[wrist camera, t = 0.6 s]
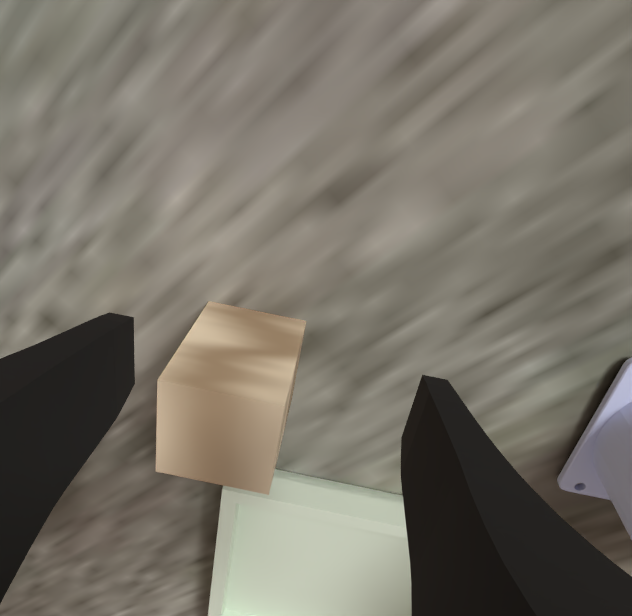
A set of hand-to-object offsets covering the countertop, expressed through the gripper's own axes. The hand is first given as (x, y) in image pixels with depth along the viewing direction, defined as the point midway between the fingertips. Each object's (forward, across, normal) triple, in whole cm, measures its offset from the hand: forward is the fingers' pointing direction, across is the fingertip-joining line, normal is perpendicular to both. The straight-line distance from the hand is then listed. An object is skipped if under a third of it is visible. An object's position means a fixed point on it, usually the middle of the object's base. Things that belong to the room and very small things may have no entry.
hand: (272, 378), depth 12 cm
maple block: (+10, +2, +6) cm, 11 cm away
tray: (+9, -4, +20) cm, 23 cm away
